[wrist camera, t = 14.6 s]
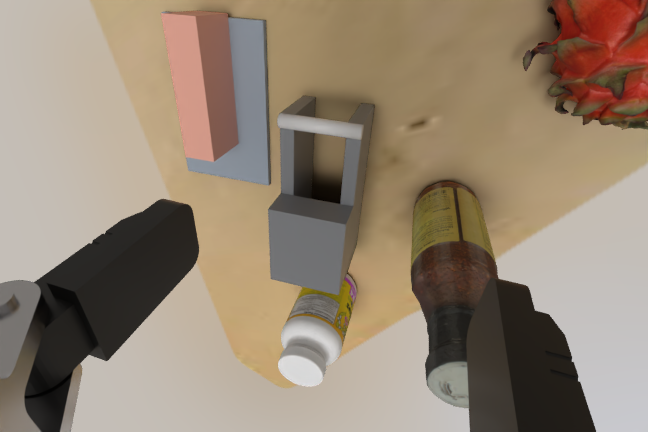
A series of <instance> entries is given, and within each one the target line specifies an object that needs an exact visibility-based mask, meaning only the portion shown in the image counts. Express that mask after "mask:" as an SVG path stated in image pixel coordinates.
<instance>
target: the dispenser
mask: <svg viewBox="0 0 648 432" xmlns="http://www.w3.org/2000/svg"><path fill="white" fill-rule="evenodd" d="M315 99H316V97H310V96H302V97H301V98H300V99H298V100H297V101H296V102H294V103H293V104H291V105H290V106H289V107H287V108H286V109H285V110H283V111H282V112H281V113H280V114H279V116H278V120H277V124H278V127H279V128H280V147H281V194H280V195H279V196H278V198H277V199H276V200H275V201H274V203H273V204H272V205H271V206H270V208H269V209H268V217H269V244H270V270H271V279H273V280H277V281H281V282H286V283H290V284H294V285H298V286H302V287H306V288H311V289H315V290H319V291H323V292H327V293H331V294H336V295H339V292H340V290H341V287H342V284H343V281H344V279H345V278H346V275H347V272H348V269H349V266H350V263H351V260H352V257H353V254H354V251H355V248H356V245H357V237H358V229H359V221H360V214H361V206H362V198H363V191H364V183H365V175H366V168H367V160H368V152H369V144H370V137H371V129H372V121H373V114H374V106H375V105H373V104H365V103H361V105H360V106H359V107H358V109H357V110H356V112H355V113H354V114H353V116H352V117H351V119H350V120H349V121H348V122H343V121H336V120H329V119H322V118H315ZM314 133H317V134H324V135H331V136H337V137H344V138H346V146H345V157H344V168H343V179H342V190H341V201H340V204H337V203H331V202H326V201H321V200H315V199H312V174H313V149H314Z"/></svg>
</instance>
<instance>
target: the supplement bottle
mask: <svg viewBox="0 0 648 432" xmlns="http://www.w3.org/2000/svg"><path fill="white" fill-rule="evenodd" d="M356 294H357V290H356V285H355V283H354V281H353V279H352V278H351V277H350V276H349V275H348V274H347V275H346V278H345V279H344V281H343V284H342V287H341V290H340V292H339V295H336V294H331V293H327V292H323V291H319V290H315V289H311V288H306V287H302V289H301V291H300V293H299V295H298V298H297V300H296V302H295V304H294V306H293V308H292V310H291V313H290V315H289V317H288V319H287V321H286V323H285V325H284V327H283V330H282V333H281V341H282V345H283V347H284V350H283V352H282V354H281V357H280V359H279V362H278V368H279V370H280V372H281V374H282V375H283V376H284V377H285V378H287V379H288V380H289V381H291V382H293V383H295V384H298V385H301V386H308V387H310V386H315V385H318V384H320V383H321V382H322V380H323V377H324V374H325V371H326V366H328V365H330V364H332V363H333V362H335V361H336V360H337V358H338V357H339V355H340V353H341V349H342V346H343V342H344V339H345V335H346V331H347V328H348V324H349V321H350V317H351V314H352V310H353V306H354V303H355V299H356Z"/></svg>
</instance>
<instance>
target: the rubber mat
mask: <svg viewBox="0 0 648 432" xmlns="http://www.w3.org/2000/svg"><path fill="white" fill-rule="evenodd" d="M162 13H172V12H162ZM228 22H229V34H230V46H231V58H232V70H233V82H234V94H235V106H236V118H237V129H238V141H239V144H238V145H236V146H235V147H234V148H232V149H231V150H230V151H228V152H227V153H225V154H224V155H223V156H221V157H220V158H219V159H217V160H216V161H215V162H211V161H205V160H200V159H194V158H188V157H186V159H187V165H188V171H193V172H199V173H204V174H209V175H215V176H220V177H226V178H231V179H236V180H242V181H247V182H253V183H258V184H264V185H270V183H271V172H270V140H269V108H268V75H267V43H266V20H256V19H244V18H233V17H228Z"/></svg>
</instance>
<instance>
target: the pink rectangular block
mask: <svg viewBox="0 0 648 432" xmlns="http://www.w3.org/2000/svg"><path fill="white" fill-rule="evenodd" d="M161 16H162V22H163V28H164V33H165V39H166V45H167V51H168V57H169V62H170V68H171V74H172V80H173V86H174V91H175V97H176V103H177V109H178V115H179V120H180V126H181V132H182V138H183V144H184V149H185V155H186V157H188V158H194V159H200V160H205V161H211V162H215V161H216V160H217V159H219V158H220V157H221V156H223V155H224V154H225V153H227V152H228V151H230V150H231V149H232V148H234V147H235V146H236V145H238V144H239V141H238V129H237V118H236V106H235V94H234V82H233V70H232V58H231V46H230V34H229V22H228V13H220V12H207V11H186V12H172V13H161Z"/></svg>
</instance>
